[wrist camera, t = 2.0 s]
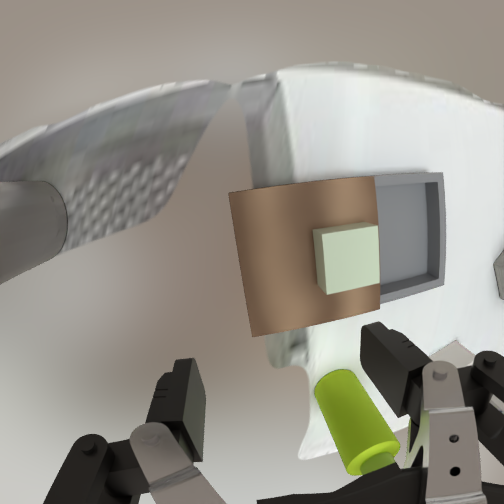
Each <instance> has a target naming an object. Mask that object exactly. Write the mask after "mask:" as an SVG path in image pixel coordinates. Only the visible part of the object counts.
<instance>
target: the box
mask: <svg viewBox="0 0 504 504" xmlns="http://www.w3.org/2000/svg"><path fill="white" fill-rule="evenodd" d="M363 177H367V176H363ZM374 179H375V188H376V198H377V209H378V223H379V241H380V304H382V303H386V302H390V301H393V300H397V299H400V298H404V297H407V296H411V295H414V294H417V293H420V292H424V291H427V290H430V289H433V288H436V287H439V286H442V285H444V278H445V260H446V208H445V191H444V179H443V172H438V173H408V174H390V175H376V176H374Z"/></svg>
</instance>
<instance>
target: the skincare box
mask: <svg viewBox="0 0 504 504" xmlns="http://www.w3.org/2000/svg"><path fill="white" fill-rule="evenodd" d="M494 268H495V273H496V277H497V282H498V287H499V292H500V298H501V299H503V300H504V251H503V252H502V253H501V255H500V256H499V257H498V259H497V260H496V261H495V262H494Z"/></svg>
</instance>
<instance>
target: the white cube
mask: <svg viewBox="0 0 504 504" xmlns="http://www.w3.org/2000/svg"><path fill="white" fill-rule="evenodd" d="M475 356H476V355H474V354H473V353H472V352H470V351H469V350H468V349H466V348H465V347H464V346H463V345H461V344H460V343H459V342H457V341H456V340H455V341H453V342H452V343H450V344H449V345H447V346H446V347H444V348H442V349H441V350H439V351H437V352H436V353H434V354H432V355H431V356H429V358H430V359H431V360H432V361H447V362H449V363H451V364H453V365H454V366H455V367H456V368H461V367H466V366H470V365H472V364H473V361H474V358H475Z"/></svg>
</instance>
